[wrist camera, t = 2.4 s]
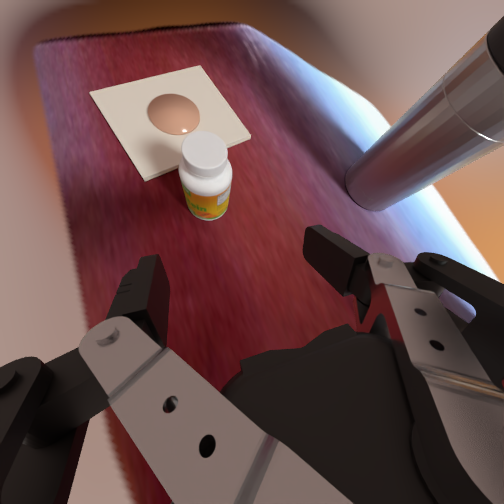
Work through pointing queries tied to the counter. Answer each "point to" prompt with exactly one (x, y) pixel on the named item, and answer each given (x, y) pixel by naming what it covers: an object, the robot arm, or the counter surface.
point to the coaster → (174, 114)
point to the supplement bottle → (205, 174)
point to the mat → (152, 139)
